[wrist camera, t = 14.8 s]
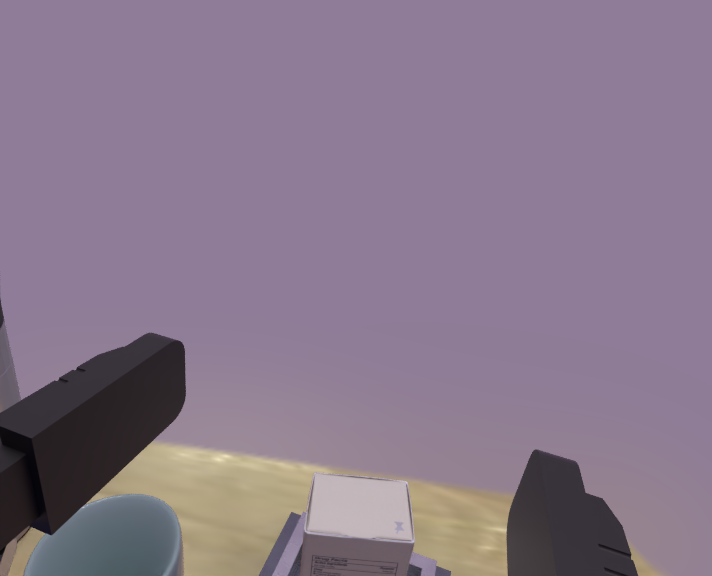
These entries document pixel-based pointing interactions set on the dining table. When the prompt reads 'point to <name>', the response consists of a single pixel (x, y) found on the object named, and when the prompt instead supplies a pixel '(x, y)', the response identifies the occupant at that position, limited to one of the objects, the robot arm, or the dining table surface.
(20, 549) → the dining table surface
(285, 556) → the tray
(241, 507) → the dining table surface
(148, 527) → the cup
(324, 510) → the skincare box
